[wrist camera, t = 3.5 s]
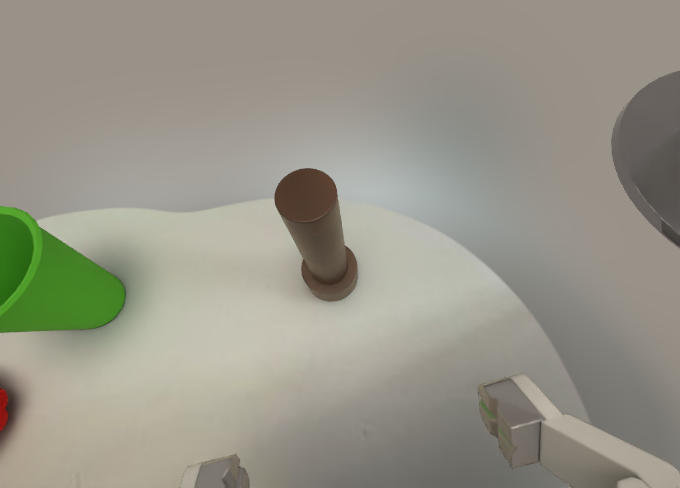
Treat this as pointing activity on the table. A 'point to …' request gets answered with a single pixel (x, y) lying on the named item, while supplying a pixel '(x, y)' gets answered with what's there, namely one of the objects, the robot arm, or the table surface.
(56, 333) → the table surface
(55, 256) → the cup
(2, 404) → the toy
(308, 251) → the muddler
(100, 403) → the table surface
